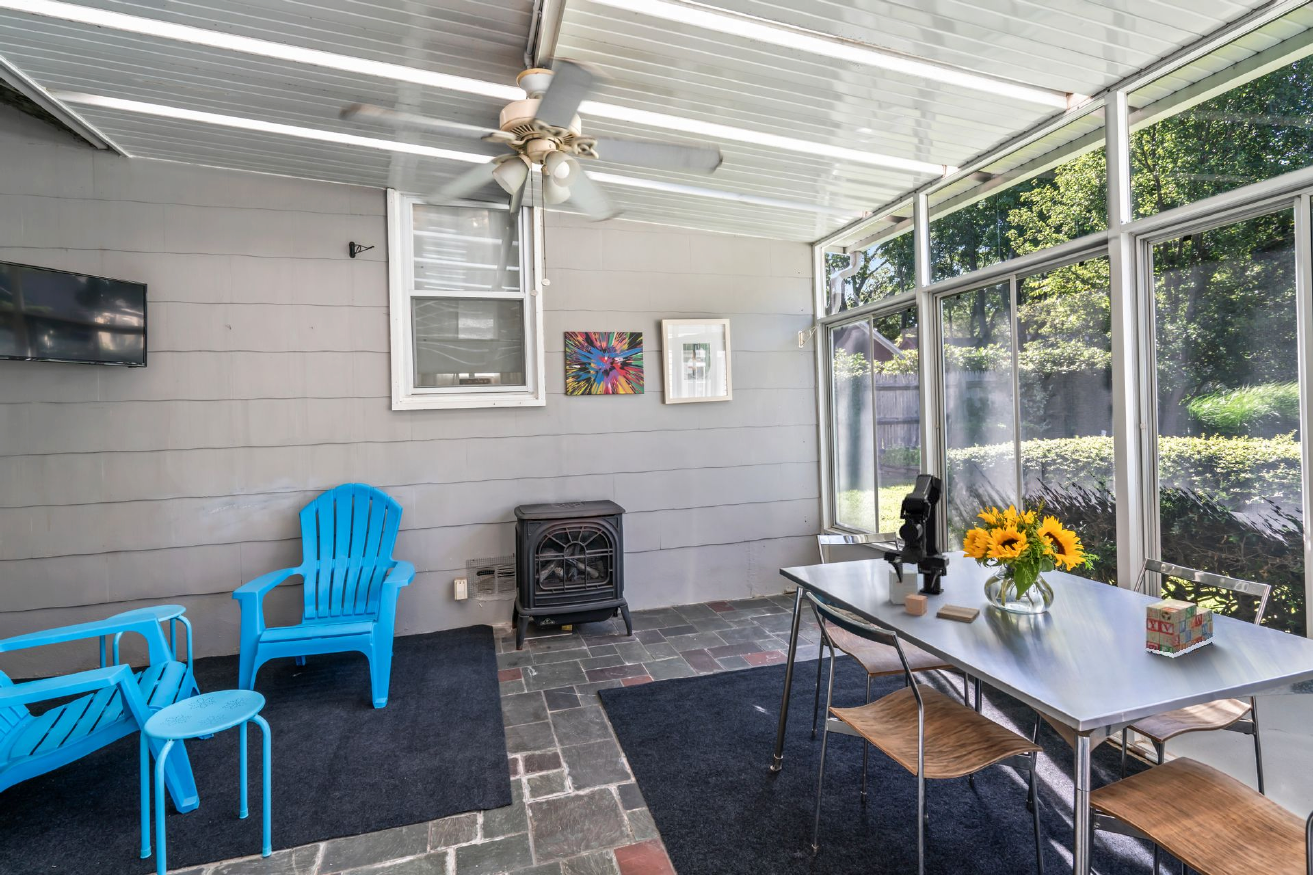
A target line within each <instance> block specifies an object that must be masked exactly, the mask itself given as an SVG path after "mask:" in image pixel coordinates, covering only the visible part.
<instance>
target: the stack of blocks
mask: <svg viewBox="0 0 1313 875" xmlns="http://www.w3.org/2000/svg"><path fill="white" fill-rule="evenodd" d="M1145 619H1146V621H1145V625H1146V626H1145V628H1146V629H1145V630H1146V631H1145V632H1146V633H1145V634H1146V638H1145V639H1146V640H1145V646H1146V647H1145V649H1146V648H1149V649H1154V650H1159V651H1163V652H1170V653H1173V654H1174V653H1176V652H1179V651H1180V650H1183V649H1186V648H1188V647H1191V646H1192V645H1195V644H1196V643H1199V642H1202V641H1206V640H1207V639H1209V638H1211V637H1213V634H1214V632H1213V631H1214V622H1213V609H1210V608H1207V607H1202V606H1197V603H1194V602H1189V601H1183V600H1180V599H1179V600H1178V599H1175V598H1167V599H1164V600H1161V601H1159V602H1156V603H1153V604H1149V605H1147V606H1146V618H1145Z"/></svg>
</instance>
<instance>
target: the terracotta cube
mask: <svg viewBox="0 0 1313 875" xmlns="http://www.w3.org/2000/svg"><path fill="white" fill-rule="evenodd" d="M927 598H928V597H927V596H925V595H919V594H918V595H914V594H910V595H908V596H907V597H906V598H905V604H904V605H905V606H904V607H905V614H908V613H909V614H910V615H914V616H921V617H923V615H925V614H926V613H927V612H928V611H927V610H928V609H927V608H928V607H927V605H928V602H927V601H928V600H927Z"/></svg>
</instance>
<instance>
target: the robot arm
mask: <svg viewBox="0 0 1313 875" xmlns="http://www.w3.org/2000/svg"><path fill="white" fill-rule="evenodd" d="M944 491H945V485H944V482H943V480H942V479H941V478H938V477H936V475H935V474H932V473H919V474H918V475H917V478H915V485H914V487H913V490H912V492H910V493H907V494H906V495H905V496H904V499H902V500H901V507H900V514H899V520H904V523H903V524H902V525H900V527H899V530H898V534H899V536H900V538H901V539H902V540H903V541H904V545H903V547H902V549H901V550H900V549H893V548H889V549H888V550H886V551H885V552H884V553H883V561H886V562H887V564H889V565H891V566H892V567H893V569H895V571H896V573H897V576H898V578H899V581H900V583H902V582H903V569H904V567H903V566H904V565H903V564H909V565H910V564H911V565H916V566H917V575H922V579H923V580H922V588H921V589H919V592H921V593H927V594H934V595H941V593H943V592H945V589H944V588H942V584H941V583H942V582H941V580H942V579H941V578H942V577H945V576H946V577H947V575H948V570H947V567H948V566H949V565H950V557H949V556H948V555H943V552H942V551H941V548H939V546H938V504H939V502H940V501H941V500H942V498H943V494H944Z"/></svg>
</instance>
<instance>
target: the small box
mask: <svg viewBox="0 0 1313 875" xmlns="http://www.w3.org/2000/svg"><path fill="white" fill-rule="evenodd" d="M918 581H919V580H918V572H917V571H916V570H914V569H913V568H903V582H902V583H900V581H899V578H898V576H897V573H896V571H895V569H894V568H888V588H889V589H888V590H889V591H888V592H889V593H888V595H889V601H891V603H892V604H893V605H905V598H906V597H907V596H908V595H910V594H914V595H919V594H918V593H919V591H918V588H919V587H918V586H919V584H918V583H919V582H918Z"/></svg>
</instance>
